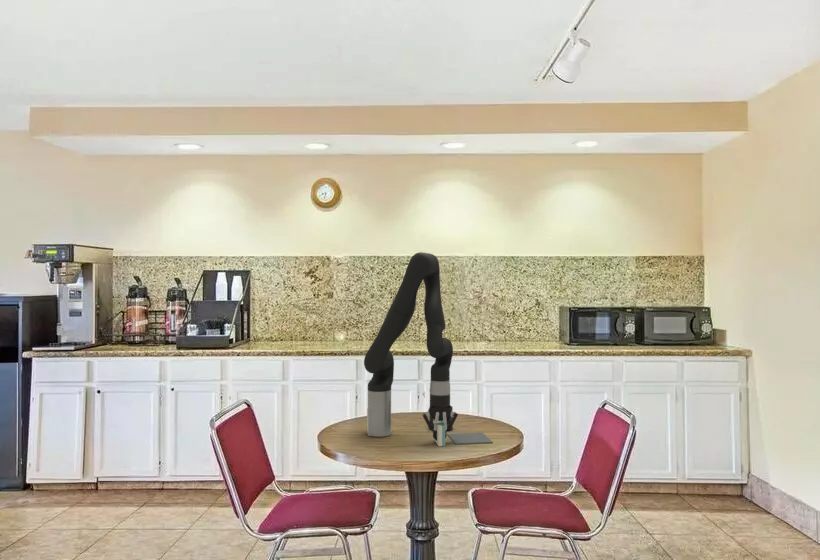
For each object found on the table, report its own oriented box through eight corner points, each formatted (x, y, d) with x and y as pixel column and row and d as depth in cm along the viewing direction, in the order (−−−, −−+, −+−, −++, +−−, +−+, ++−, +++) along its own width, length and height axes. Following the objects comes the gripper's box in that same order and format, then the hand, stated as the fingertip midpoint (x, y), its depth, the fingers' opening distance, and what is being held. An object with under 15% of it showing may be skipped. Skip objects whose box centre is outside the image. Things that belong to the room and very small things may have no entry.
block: (438, 446, 198) (438, 426, 198) (434, 439, 207) (434, 421, 207) (445, 446, 199) (445, 426, 199) (440, 439, 208) (440, 420, 208)
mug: (441, 424, 233) (441, 402, 233) (457, 430, 222) (457, 407, 222) (421, 426, 228) (421, 404, 228) (437, 433, 218) (437, 409, 218)
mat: (455, 444, 201) (455, 443, 201) (447, 435, 214) (447, 433, 214) (492, 443, 203) (492, 441, 203) (482, 433, 216) (482, 432, 216)
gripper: (423, 394, 199) (422, 443, 198) (460, 394, 201) (460, 442, 200) (419, 391, 206) (419, 437, 206) (456, 390, 208) (455, 436, 208)
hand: (439, 439), depth 203 cm, fingers closed on block, 2 cm apart
